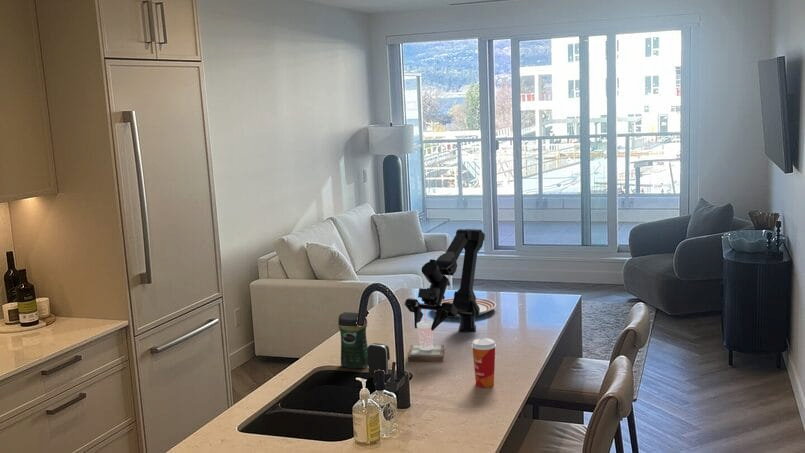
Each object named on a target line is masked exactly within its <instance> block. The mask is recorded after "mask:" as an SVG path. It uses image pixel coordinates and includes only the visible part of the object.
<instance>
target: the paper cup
mask: <svg viewBox="0 0 805 453" xmlns="http://www.w3.org/2000/svg"><path fill="white" fill-rule="evenodd" d="M496 347H497V344H496V341H495V340H494V339H491V338H486V337H485V338H480V339H479V338H477V339H474V340H473V341H472V344H471V348H472V355H473V356H472V357H473V369H474V377H475V378H474V379H475V380H474V381H475V385H476V387H478V388H486V389H487V388H492V387H494V385H495V365H496V364H495V360H496Z"/></svg>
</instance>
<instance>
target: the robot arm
mask: <svg viewBox="0 0 805 453" xmlns="http://www.w3.org/2000/svg"><path fill="white" fill-rule="evenodd" d="M485 238H486V235H485V232H483V229H479V228H478V229H476V228H475V229H474V228H465V229H463V228H458V229H457V230H456V231H455V235H454V237H453V239H452V241H451V242H450V244H449V246H448V248H447V250H446V251H445V253H443V254H441V255H439V256H438V258H436V259H429V261H428V262H425V263H424V264H423V265H422V267H421V273H422V275H423V276H424V277H425V279H426V281H427V282H428V283H430V285H429V287H427V288H419V289H418V294H417V298H421V301H422V302H419V300H418V299H417V298H410V297H409V298H406V299H405V301H404V306H405V307H406V308H407V310H408V312H409V313H410V312H411V313H413V316H414V320H413V321H414V322H413V323H414V325H413V326H414V328H415V329H418V327H417V323H418V322H421V321H422V318H423V316H424V312H422V311H423V310H424V309H425V310H426V311H427V310H428V311H434V310H436V312H435V315H434V319H433V321H432V322H433V324H432V327H431V330H432V331H433V332H434V331H435V329H436V328H438V327H439V325H440V324H442V323H443V322H444V321H445V320H447V319H449V318H450V317H451V318H457V317H456V316H457V314H459V315H460V317H459V326H458V332H462V333H463V332H477V325H476V323H475V322H476V321H475V320H476V319H475V317H478V316H480V315H479V312H480V308H479V306H478V305H477V303H476V298H477V297H476V296H477V295H475V292H474V289H473V288H474V281H475V276H476V275H475V274H476V265H477V257H478V253H479V252H480V250H481V249H482V248H483V245H484V241H485V240H486V239H485ZM463 250H464V256H463V264H462V270H461V278H460V279H461V280H460V287H459V289H458V290H457V291H456V290H455V292H454V294H453V298H454V300H453V303H447V302H443V303H442V305H441V302H442V300H444V299H446V296H445V293H446V290H447V287H448V286H451V282H450V280H449V277H447V276H453V275H455V273H456V272H457V269H458V259H459V257H460V256H461V253H462V252H463Z"/></svg>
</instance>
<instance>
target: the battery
mask: <svg viewBox="0 0 805 453" xmlns="http://www.w3.org/2000/svg"><path fill="white" fill-rule="evenodd" d="M367 346H368V348H367V358H368V365H367V366H368V378H370V379H373V378H372V375H373V373H374V371H375V370H378V369H380V370H384V371H385V373H389V360H391V359H390V358H391V356H390V348H389V346H388V344H384V343H379V342H378V343H377V342H376V343H375V342H374V343H371V344H369V345H367Z"/></svg>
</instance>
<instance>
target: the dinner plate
mask: <svg viewBox="0 0 805 453" xmlns="http://www.w3.org/2000/svg"><path fill="white" fill-rule="evenodd" d="M453 300H454V297H452V298H451V297H449V298H445V299H444V300H442V302H441V305H442V303H443V302H447V303H453ZM476 303H477V305H478V306H479V308H480V312H479V315H478V316H481V315H483V314H487V313H488V312H490V311H492V310H494V309H495V308H496V306H497V303H496V302H495V301H493V300H490V299H487V298H482V297H476ZM433 312H435V313H436V310H433ZM455 318H460V315H459V314H457V316H456V317H455Z"/></svg>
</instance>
